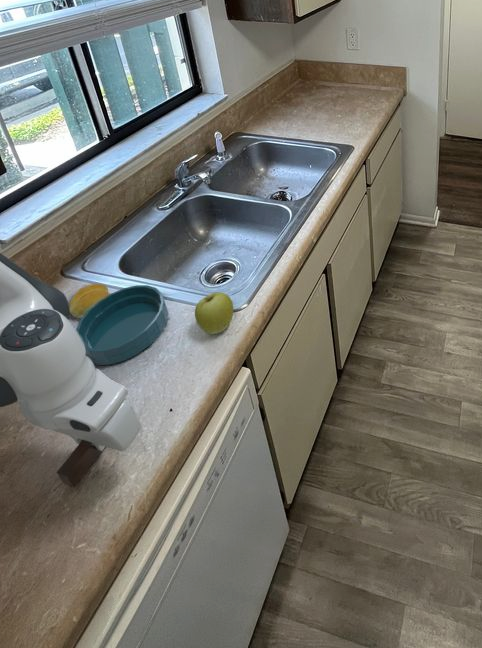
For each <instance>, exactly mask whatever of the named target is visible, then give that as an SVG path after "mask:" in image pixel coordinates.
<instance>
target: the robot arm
mask: <svg viewBox="0 0 482 648" xmlns="http://www.w3.org/2000/svg"><path fill="white" fill-rule="evenodd" d="M69 305H70V302H69V301H68V298H67V296H66V295H65V293H64V292H62V291H61V290H60V289H59V288H56V287H55V286H52V285H50V284H49V283H46V282H44V281H42V280H39V279H38V278H36V277H35V276H33V275H32V274H30V273H29V272H28V271H26V270H24V269H23V268H22V267H21V266H19V265H18V264H17V263H16V262H14V261H12V260H11V259H10V258H8V257H7V256H5V255H4V254H2V253H1V252H0V408H3V407H7V406H10V405H13V404H15V403H17V402H18V404H19V407H20V409H21V412H22V414H23V416H24V418H25V419H26V421H28V422H29V423H30V424H31V425H33V426H37V427H40V428H41V429H44V430H48V431H53V432H56V433H59V434H62V435H66V436H69V437H70V438H71V439H72V440H74V441H75V443H76V444H77V445H79V444H80V442H81V441H82V440H85V441H88V442H92V444H91V445H92V446H93V447H94V449H96V450H99V451H101V452H102V451H103V450H104V449H105V448H108V449H111V450H114V451H118V452H125V451H126V450H127V449H128V448H129V447H131V445H132V443H133V442H134V440H135V439H136V438H137V436H138V435H139V433H140V431H141V423H140V420H139V416H138V415H137V413H136V410H135V408H134V406H133V404H132V403H131V401H129V400H128V399H127V396H128V394H129V392H128V391H129V390H128V389H127V388H126V386H125V385H124V384H121V383H119V382H118V381H116V380H113V379H112V378H110V377H108V376H107V375H106V374H105V373H103V372H102V371H101V370H100V368H96V367H95V364H94V363H93V362H92V361H91V359H90V358H89V357H87V356H86V355H85V354H86V350H85V346H84V344H83V341H82V339H81V337H80V336H79V334H78V332H77V330H76V327H75V326H74V325H73V323H72V322H71V321H70V317H71V312H70V308H69Z"/></svg>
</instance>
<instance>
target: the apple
mask: <svg viewBox="0 0 482 648" xmlns="http://www.w3.org/2000/svg"><path fill="white" fill-rule="evenodd" d="M233 316H234V302H233V300H232V299H231V297H230V296H229V295H228V294H226V293H224V292H220V291H219V292H218V291H217V292H212V293H210V294H208V295H207V296H205V297H203V298H201V299H200V300H199V301H198V302H197V304H196V306H195V308H194V317H195V321H196V323H197V325H198V327H199V328H200V329H201V330H202V331H203V332H204V333H206V334H209V335H217V334H219V333H222V332H224V331H225V330H226V329H227V328H228V327H229V325H230V324H231V322H232V320H233Z"/></svg>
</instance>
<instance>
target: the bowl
mask: <svg viewBox="0 0 482 648" xmlns="http://www.w3.org/2000/svg"><path fill="white" fill-rule="evenodd" d="M168 318H169V309H168V307H167V304H166V301H165V298H164V296H163V293H162V292H161V291H160V290H159V289H158V288H157V287H155V286H151V285H148V284H146V285H145V284H143V285H142V284H141V285H139V284H138V285H132V286H128V287H124V288H121V289H119V290H115V291H114V292H111V293H110V294H109V295H108V296H106V297H105V298H103V299H101V300H100V301H98V302H97V303H96V304H95V305H94V306H92V307H91V308H90V309H89V310H88V311H87V312H86V313H85V315H84V316H83V317H82V318H81V319H80V320H79V321H78V323H77V327H75V329H76V330H77V332H78V334H79V336H80V337H81V339H82V341H83V344H84V346H85V350H86V354H85V355H86V356H87V357H89V358H90V359H91V361H92V362H93V364H94V365H96V366H97V365H98V366H99V365H101V366H102V365H106V366H107V365H113V364H117V363H121V362H125V361H127V360H128V359H131V358H132V357H135V356H137V355H138V354H140V353H142V352H143V351H144V350H145V349H147V348H148V347H149V346H151V345H152V344H153V343H154V341H155V340H157V338H158V337H160V335H161V334H162V332H163V330H164V329H165V328H166V326H167V322H168Z"/></svg>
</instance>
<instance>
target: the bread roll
mask: <svg viewBox="0 0 482 648" xmlns="http://www.w3.org/2000/svg"><path fill="white" fill-rule="evenodd" d="M109 294H111V293H110V292H109V288H108V286H107V285H105V284H102V283H92V284H91V283H90V284H88V285H86V286H84V287H81V288H80V289H79V290H78V291H76V293H74V295H73V297H72V298H71V300H70V302H69V308H70V315H71V316H72V317H73V318H74V319H80V320H81V318H82V317H83V316H84V315H85V313H86V312H87V311H88V310H89V309H90V308H91V307H92V306H94V305H95V304H96V303H97V302H98V301H100V300H101V299H103V298H105V297H106V296H108V295H109Z"/></svg>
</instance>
